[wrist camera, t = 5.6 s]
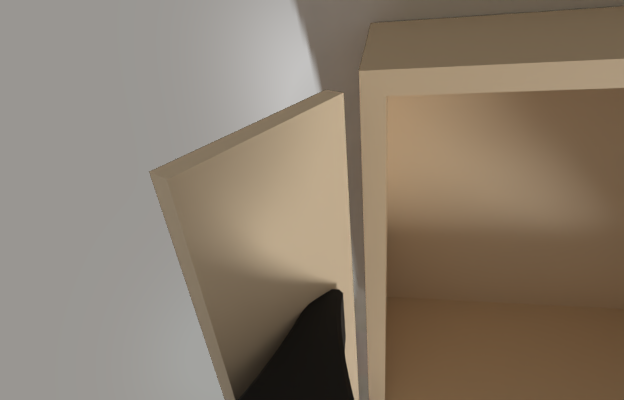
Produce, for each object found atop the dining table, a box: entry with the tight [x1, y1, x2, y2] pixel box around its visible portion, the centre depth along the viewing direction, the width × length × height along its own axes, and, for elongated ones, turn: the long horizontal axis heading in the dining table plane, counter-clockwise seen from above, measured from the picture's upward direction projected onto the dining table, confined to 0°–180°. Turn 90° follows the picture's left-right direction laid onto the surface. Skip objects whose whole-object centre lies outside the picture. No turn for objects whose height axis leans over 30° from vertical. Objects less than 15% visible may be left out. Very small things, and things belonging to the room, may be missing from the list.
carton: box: [359, 6, 624, 400], centre depth 14 cm, size 13×14×6 cm
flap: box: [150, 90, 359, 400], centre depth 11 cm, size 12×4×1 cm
